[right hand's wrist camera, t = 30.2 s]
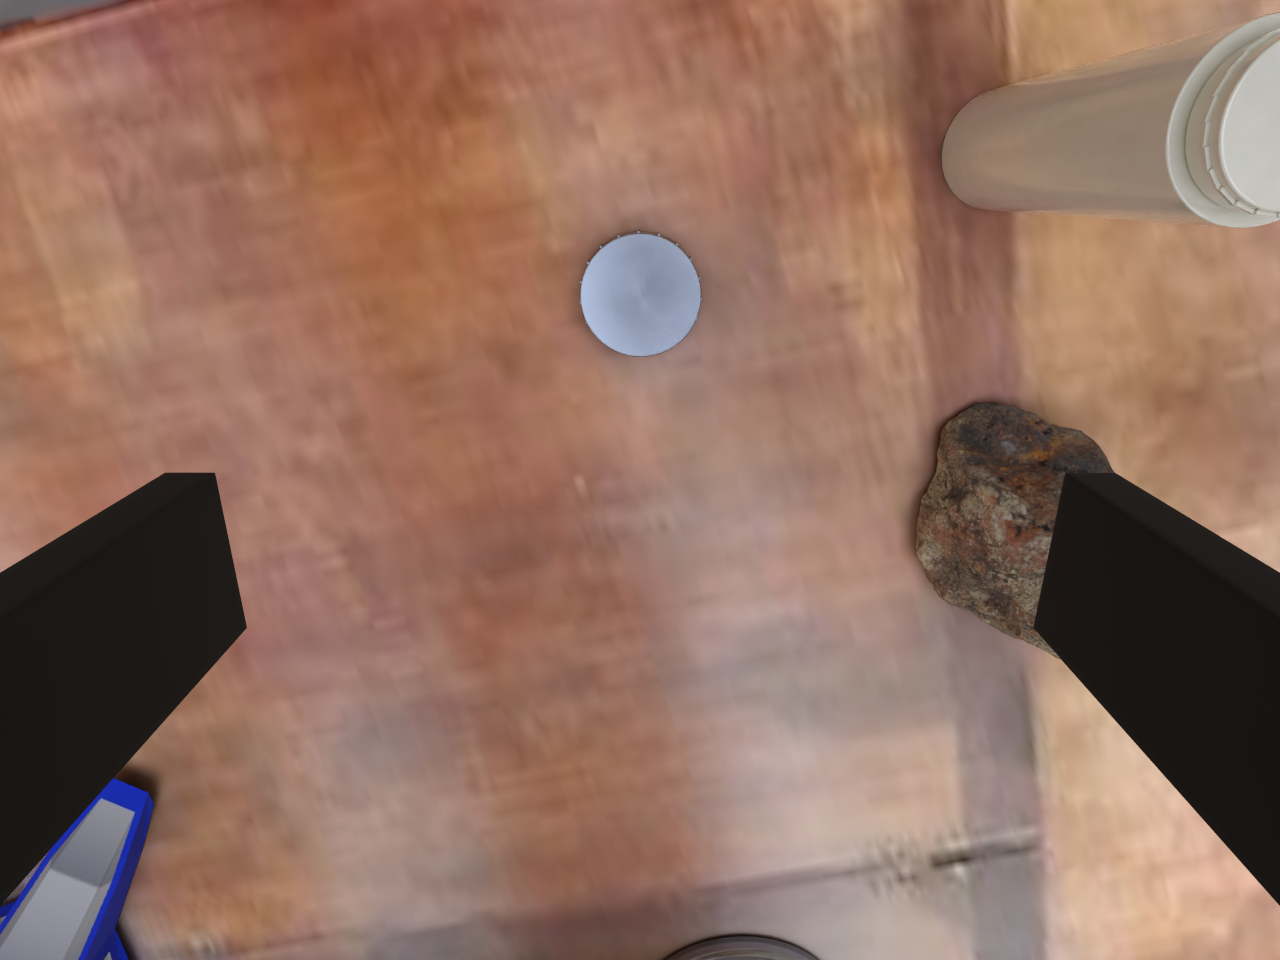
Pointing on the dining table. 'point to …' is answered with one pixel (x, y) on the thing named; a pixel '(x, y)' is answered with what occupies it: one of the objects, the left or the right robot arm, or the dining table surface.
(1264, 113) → the beige cylindrical bottle
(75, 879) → the toy spaceship
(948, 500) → the rock
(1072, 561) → the right robot arm
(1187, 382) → the dining table surface
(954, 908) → the dining table surface
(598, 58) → the dining table surface
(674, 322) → the lid
